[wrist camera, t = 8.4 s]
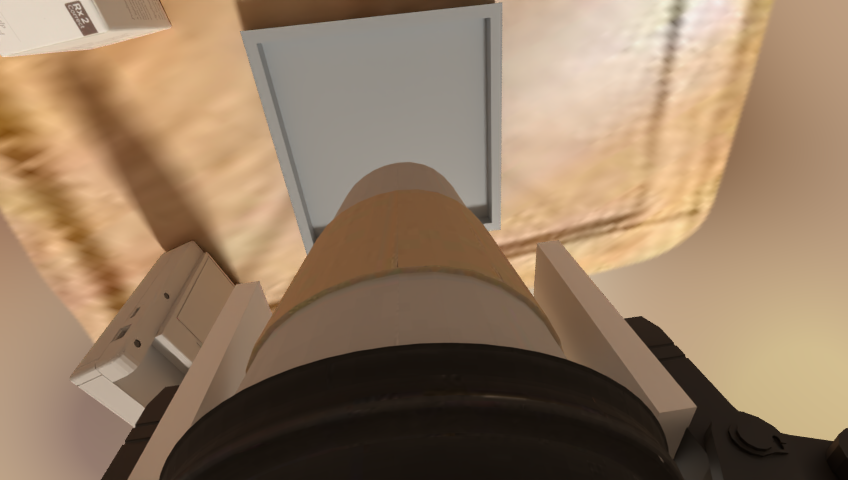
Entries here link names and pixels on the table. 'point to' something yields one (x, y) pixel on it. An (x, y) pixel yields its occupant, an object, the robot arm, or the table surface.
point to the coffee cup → (417, 364)
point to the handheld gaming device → (155, 332)
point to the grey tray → (383, 104)
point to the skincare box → (75, 24)
